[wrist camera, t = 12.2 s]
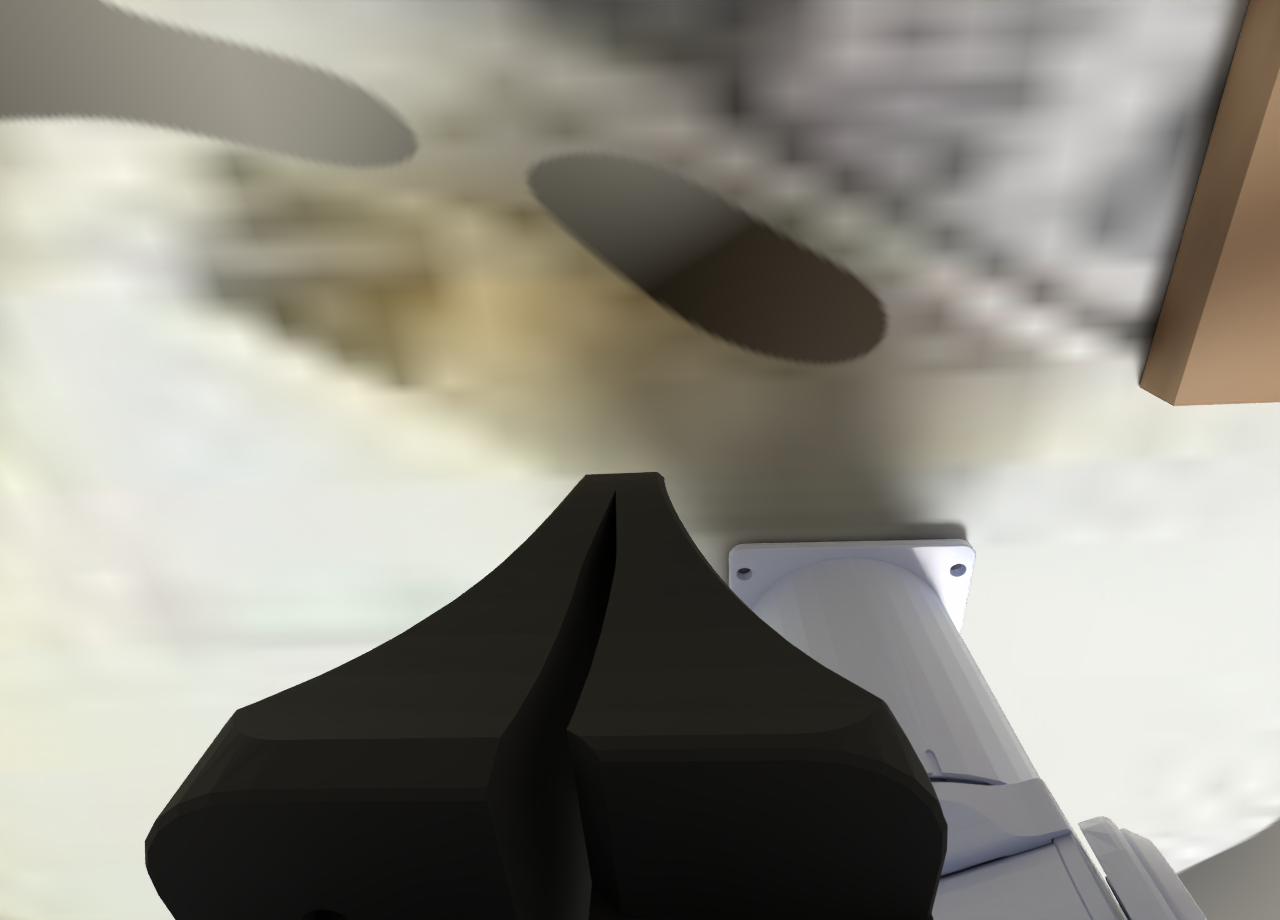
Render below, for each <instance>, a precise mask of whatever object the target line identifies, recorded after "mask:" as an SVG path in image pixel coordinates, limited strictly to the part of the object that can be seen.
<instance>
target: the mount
mask: <svg viewBox="0 0 1280 920" xmlns="http://www.w3.org/2000/svg"><path fill="white" fill-rule="evenodd" d="M1140 388H1142V389H1144V390H1146V391H1148V392H1149V393H1151V394H1153V395H1155V396H1157V397H1158V398H1160V399H1162V400H1164V401H1166V402H1167V403H1169V404H1171V405H1173V406H1184V405H1212V404H1240V403H1267V402H1280V0H1250V1H1249V5H1248V8H1247V12H1246V15H1245V19H1244V22H1243V26H1242V29H1241V33H1240V36H1239V40H1238V43H1237V47H1236V50H1235V54H1234V57H1233V61H1232V64H1231V68H1230V71H1229V75H1228V78H1227V82H1226V85H1225V89H1224V92H1223V96H1222V99H1221V103H1220V106H1219V110H1218V113H1217V117H1216V120H1215V124H1214V127H1213V131H1212V134H1211V138H1210V142H1209V145H1208V149H1207V152H1206V156H1205V159H1204V163H1203V166H1202V170H1201V173H1200V177H1199V180H1198V184H1197V187H1196V191H1195V194H1194V198H1193V201H1192V205H1191V208H1190V212H1189V215H1188V219H1187V222H1186V226H1185V229H1184V233H1183V236H1182V240H1181V243H1180V247H1179V250H1178V254H1177V257H1176V261H1175V264H1174V268H1173V271H1172V275H1171V278H1170V282H1169V285H1168V289H1167V292H1166V296H1165V299H1164V303H1163V306H1162V310H1161V313H1160V317H1159V320H1158V324H1157V327H1156V331H1155V334H1154V338H1153V341H1152V345H1151V348H1150V352H1149V355H1148V359H1147V362H1146V366H1145V369H1144V373H1143V376H1142V380H1141V383H1140Z"/></svg>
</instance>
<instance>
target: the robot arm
mask: <svg viewBox="0 0 1280 920" xmlns="http://www.w3.org/2000/svg"><path fill="white" fill-rule="evenodd" d="M975 557H976V555H975V550H974V549H973V547H972V546H971V544H970V543H969V542H967V541H966V540H962V539H934V540H889V541H844V542H798V543H753V544H739V545H737V546H735V547H733V548H732V550H731V551H730V553H729V586H728V585H727V584H726V583H725V582H724V581H723V580H722V579H721V577H720V576H719V575H718V574H717V573H716V571H715V570H714V569H713V568H712V566H711V565H710V564H709V563H708V561H707V560H706V559H705V557H704V556H703V554H702V553H701V552H700V550H699V549H698V548H697V546H696V545H695V543H694V542H693V540H692V539H691V537H690V535H689V534H688V532H687V530H686V529H685V527H684V525H683V524H682V522H681V520H680V519H679V517H678V515H677V513H676V511H675V509H674V507H673V505H672V503H671V501H670V498H669V496H668V493H667V490H666V487H665V483H664V477H662V476H661V475H660V474H659V473H658V472H645V473H619V474H592V475H585V476H584V477H583V478H582V480H581V481H580V482H579V483H578V484H577V485H576V486H575V487H574V488H573V490H572V491H571V492H570V493H569V494H568V495H567V496H566V498H565V499H564V500H563V501H562V502H561V503H560V505H559V506H558V507H557V508H556V509H555V510H554V511H553V512H552V514H551V515H550V516H549V517H548V518H547V519H546V520H545V521H544V522H543V523H542V524H541V525H540V526H539V527H538V529H537V530H536V531H535V532H534V533H533V534H532V535H531V536H530V537H529V538H528V539H527V540H526V541H525V542H524V543H523V544H522V545H521V546H520V547H518V548H517V549H516V550H515V551H514V552H513V553H512V554H511V555H510V556H509V557H508V558H507V559H506V560H505V561H504V562H502V563H501V564H500V565H499V566H498V567H497V568H495V569H494V570H493V571H492V572H491V573H489V574H488V575H487V576H486V577H484V578H483V579H482V580H481V581H479V582H478V583H477V584H475V585H474V586H473V587H471V588H470V589H469V590H467V591H466V592H465V593H463V594H462V595H461V596H459V597H458V598H456V599H455V600H454V601H452V602H451V603H449V604H448V605H446V606H444V607H443V608H441V609H440V610H438V611H437V612H435V613H433V614H432V615H430V616H429V617H427V618H425V619H424V620H422V621H421V622H419V623H418V624H416V625H414V626H413V627H411V628H410V629H408V630H406V631H405V632H403V633H402V634H400V635H398V636H396V637H395V638H393V639H391V640H389V641H387V642H385V643H383V644H382V645H380V646H378V647H376V648H374V649H372V650H371V651H369V652H367V653H365V654H363V655H361V656H359V657H357V658H355V659H353V660H351V661H349V662H347V663H345V664H343V665H341V666H339V667H337V668H335V669H332V670H330V671H328V672H326V673H324V674H322V675H320V676H317V677H315V678H313V679H310V680H308V681H306V682H303V683H301V684H299V685H296V686H294V687H291V688H289V689H287V690H284V691H282V692H280V693H277V694H275V695H273V696H270V697H268V698H265V699H263V700H261V701H258V702H256V703H253V704H251V705H248V706H246V707H243V708H240V709H238V710H236V712H235V713H234V714H233V715H232V717H231V718H230V719H229V720H228V722H227V723H226V724H225V726H224V727H223V728H222V730H221V731H220V733H219V734H218V735H217V737H216V738H215V739H214V741H213V742H212V744H211V745H210V746H209V748H208V749H207V750H206V752H205V753H204V755H203V756H202V757H201V759H200V760H199V761H198V763H197V764H196V766H195V767H194V768H193V770H192V771H191V772H190V774H189V775H188V777H187V778H186V779H185V781H184V782H183V783H182V785H181V786H180V788H179V789H178V790H177V792H176V793H175V794H174V796H173V797H172V799H171V800H170V801H169V803H168V804H167V805H166V807H165V808H164V810H163V811H162V812H161V814H160V815H159V816H158V818H157V819H156V821H155V822H154V824H153V826H152V828H151V830H150V832H149V834H148V836H147V838H146V840H145V864H146V868H147V871H148V874H149V876H150V878H151V880H152V882H153V885H154V887H155V889H156V891H157V893H158V895H159V896H160V898H161V899H162V901H163V902H164V904H165V905H166V907H167V908H168V910H169V911H170V912H171V914H172V915H173V917H174V918H175V920H1127V919H1128V920H1207V919H1206V917H1205V915H1204V914H1203V912H1202V911H1201V910H1200V908H1199V907H1198V905H1197V904H1196V902H1195V901H1194V899H1193V898H1192V896H1191V895H1190V893H1189V892H1188V891H1187V889H1186V888H1185V886H1184V885H1183V884H1182V882H1181V881H1180V879H1179V878H1178V876H1177V875H1176V873H1175V872H1174V870H1173V869H1172V868H1171V866H1170V865H1169V864H1168V862H1167V861H1166V859H1165V858H1164V857H1163V855H1162V854H1161V853H1160V851H1159V850H1158V849H1157V848H1156V846H1155V845H1154V844H1153V843H1152V842H1151V841H1150V840H1148V839H1147V838H1145V837H1142V836H1140V835H1138V834H1136V833H1133V832H1131V831H1129V830H1127V829H1124V828H1123V829H1118V827H1117V826H1116V825H1115V824H1114V823H1113V822H1112V821H1111V820H1110V819H1108V818H1106V817H1096V818H1093V819H1089V820H1086V821H1083V822H1080V823H1078V824H1079V826H1080V829H1081V831H1082V832H1083V834H1084V836H1085V838H1086V840H1087V841H1088V843H1089V845H1090V847H1091V849H1092V850H1093V852H1094V854H1095V856H1096V858H1097V859H1098V861H1099V863H1100V865H1101V866H1102V868H1103V870H1104V872H1105V873H1106V875H1107V876H1106V881H1107V883H1108V885H1109V886H1110V888H1111V890H1112V892H1113V894H1114V896H1115V897H1116V899H1117V901H1118V903H1119V905H1120V907H1121V908H1122V910H1123V912H1124V913H1125V915H1126V917H1127V919H1126V917H1125V916H1124V914H1123V912H1122V911H1121V909H1120V907H1119V905H1118V903H1117V902H1116V900H1115V898H1114V896H1113V895H1112V893H1111V891H1110V889H1109V888H1108V886H1107V884H1106V882H1105V881H1104V879H1103V877H1102V876H1101V874H1100V872H1099V871H1098V869H1097V868H1096V866H1095V864H1094V863H1093V861H1092V859H1091V858H1090V856H1089V854H1088V853H1087V851H1086V850H1085V848H1084V846H1083V845H1082V843H1081V841H1080V840H1079V838H1078V837H1077V835H1076V833H1075V832H1074V830H1073V828H1072V827H1071V825H1070V823H1069V822H1068V820H1067V819H1066V817H1065V815H1064V814H1063V812H1062V810H1061V809H1060V807H1059V805H1058V804H1057V802H1056V801H1055V799H1054V797H1053V796H1052V794H1051V792H1050V791H1049V789H1048V788H1047V786H1046V784H1045V783H1044V781H1043V780H1042V779H1040V777H1039V775H1038V774H1037V772H1036V770H1035V768H1034V766H1033V765H1032V763H1031V761H1030V759H1029V757H1028V756H1027V754H1026V752H1025V750H1024V748H1023V747H1022V745H1021V743H1020V741H1019V739H1018V738H1017V736H1016V734H1015V732H1014V730H1013V729H1012V727H1011V725H1010V723H1009V721H1008V720H1007V718H1006V716H1005V714H1004V713H1003V711H1002V709H1001V707H1000V705H999V704H998V702H997V700H996V698H995V696H994V695H993V693H992V691H991V689H990V687H989V686H988V684H987V682H986V680H985V678H984V677H983V675H982V673H981V671H980V669H979V668H978V666H977V664H976V662H975V660H974V659H973V657H972V655H971V653H970V651H969V650H968V648H967V646H966V644H965V642H964V641H963V639H962V637H961V630H962V624H963V619H964V614H965V609H966V604H967V599H968V593H969V588H970V583H971V578H972V573H973V567H974V562H975ZM955 564H961V566H960V567H959V568H957V569H954V570H951V567H952V566H954V565H955ZM741 568H748V569H750V571H749V572H748V573H744V574H742V573H739V572H737V571H738V570H739V569H741Z"/></svg>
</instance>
